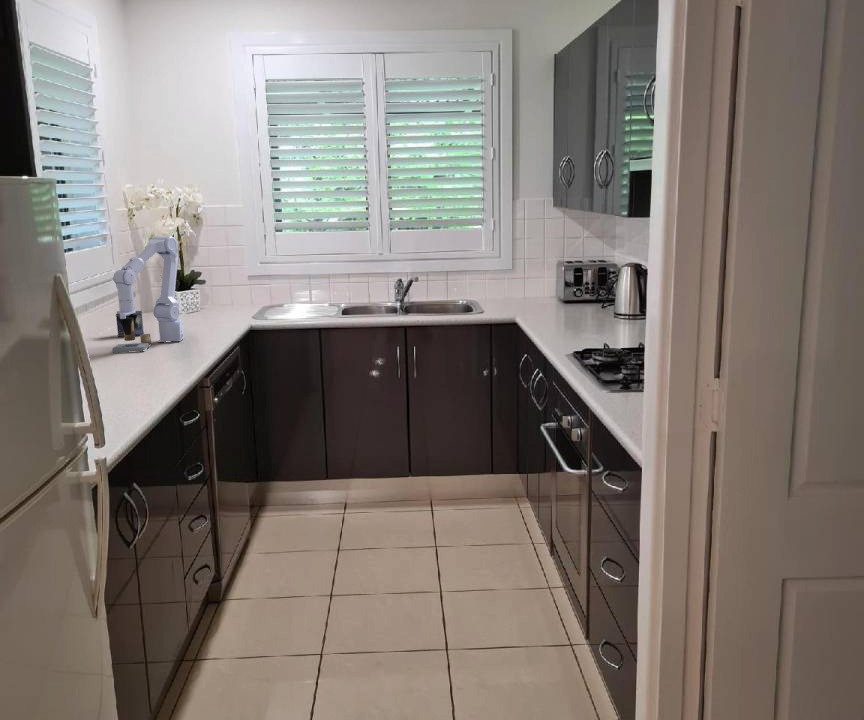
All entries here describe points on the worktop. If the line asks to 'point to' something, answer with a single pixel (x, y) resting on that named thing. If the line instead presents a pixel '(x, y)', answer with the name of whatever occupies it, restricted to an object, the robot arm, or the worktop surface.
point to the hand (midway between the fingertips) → (129, 333)
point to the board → (130, 347)
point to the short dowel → (145, 338)
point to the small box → (138, 325)
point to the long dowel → (130, 337)
